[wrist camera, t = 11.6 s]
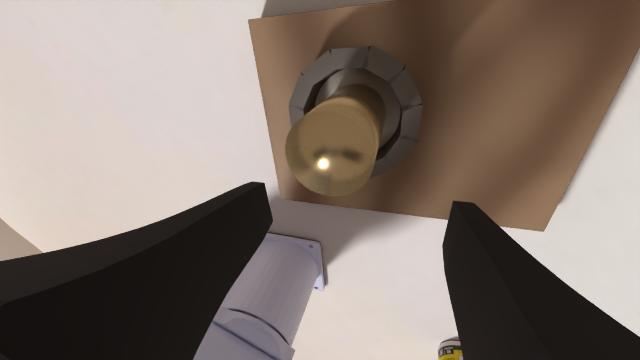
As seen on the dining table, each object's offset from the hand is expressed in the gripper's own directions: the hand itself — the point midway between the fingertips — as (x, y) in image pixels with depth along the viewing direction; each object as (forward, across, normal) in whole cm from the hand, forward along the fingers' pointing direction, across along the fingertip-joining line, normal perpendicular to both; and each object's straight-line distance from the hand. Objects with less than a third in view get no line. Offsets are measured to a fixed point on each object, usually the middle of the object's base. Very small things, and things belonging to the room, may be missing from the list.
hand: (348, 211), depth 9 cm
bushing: (+9, +1, -2) cm, 9 cm away
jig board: (+10, -2, 0) cm, 11 cm away
